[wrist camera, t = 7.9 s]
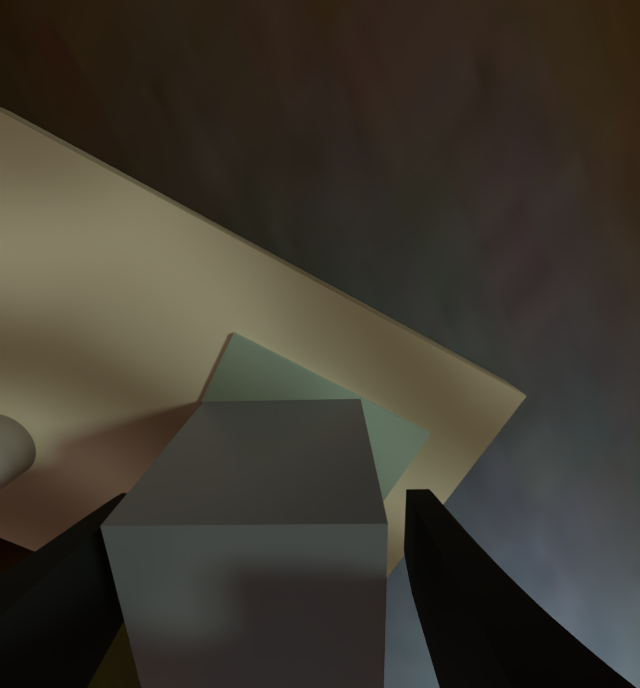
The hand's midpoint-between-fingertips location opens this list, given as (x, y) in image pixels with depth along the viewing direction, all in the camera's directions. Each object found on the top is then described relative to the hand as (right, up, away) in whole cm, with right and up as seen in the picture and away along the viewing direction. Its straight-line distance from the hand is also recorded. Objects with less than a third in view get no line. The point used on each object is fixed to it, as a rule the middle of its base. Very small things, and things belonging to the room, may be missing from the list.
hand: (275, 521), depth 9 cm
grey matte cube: (0, +1, +2) cm, 2 cm away
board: (-3, +2, +4) cm, 5 cm away
